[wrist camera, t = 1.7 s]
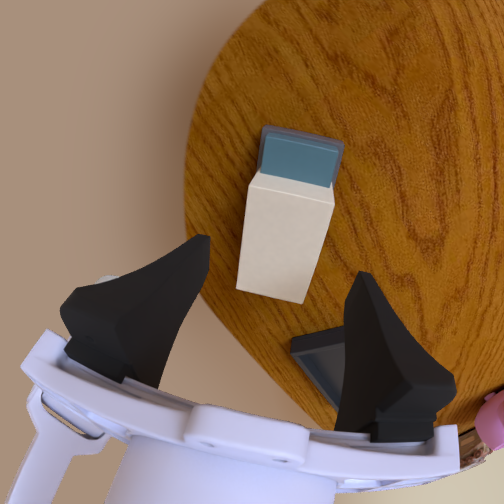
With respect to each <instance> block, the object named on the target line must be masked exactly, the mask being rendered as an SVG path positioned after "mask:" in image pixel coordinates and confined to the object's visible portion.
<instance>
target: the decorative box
mask: <svg viewBox="0 0 504 504" xmlns="http://www.w3.org/2000/svg"><path fill="white" fill-rule="evenodd" d="M458 442H459V458H460V471H459V472H457V473H460V472H463V471H465V470H468V469H470V468H473V467H475V466H477V465H479V464H482V463H484V462H485V461H486V460H484V457H486V456H487V455H489V454H491V453H492V452H493V450H492V449H490V448H489V447H488V446H487V445H486V444H485V443H484V442H483V441H482V440H481V438H480V437H479V435H478V433H477V430H476V429H475V430H472V431H470V432H468V433H466V434H464V435H462V436H460V437H458ZM457 473H455V474H457ZM452 475H453V474H452Z"/></svg>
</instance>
